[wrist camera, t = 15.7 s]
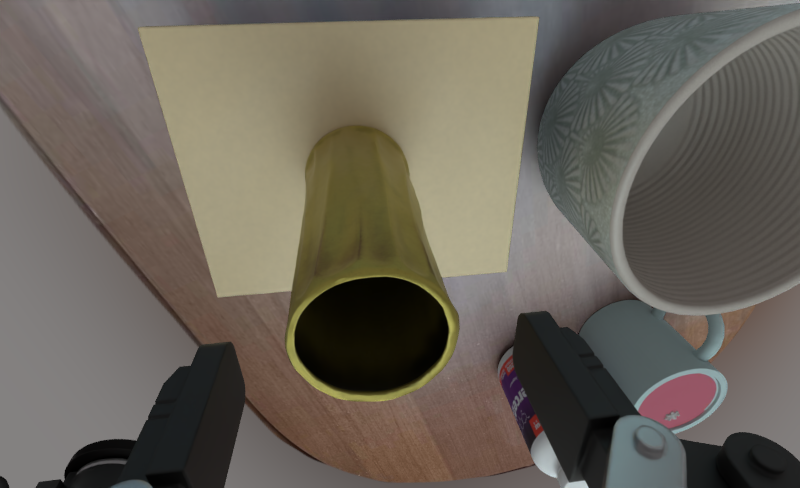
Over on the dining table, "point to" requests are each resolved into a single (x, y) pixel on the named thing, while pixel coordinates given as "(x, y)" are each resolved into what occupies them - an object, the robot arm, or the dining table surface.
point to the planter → (685, 157)
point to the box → (339, 107)
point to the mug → (658, 363)
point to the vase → (366, 275)
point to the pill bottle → (531, 424)
